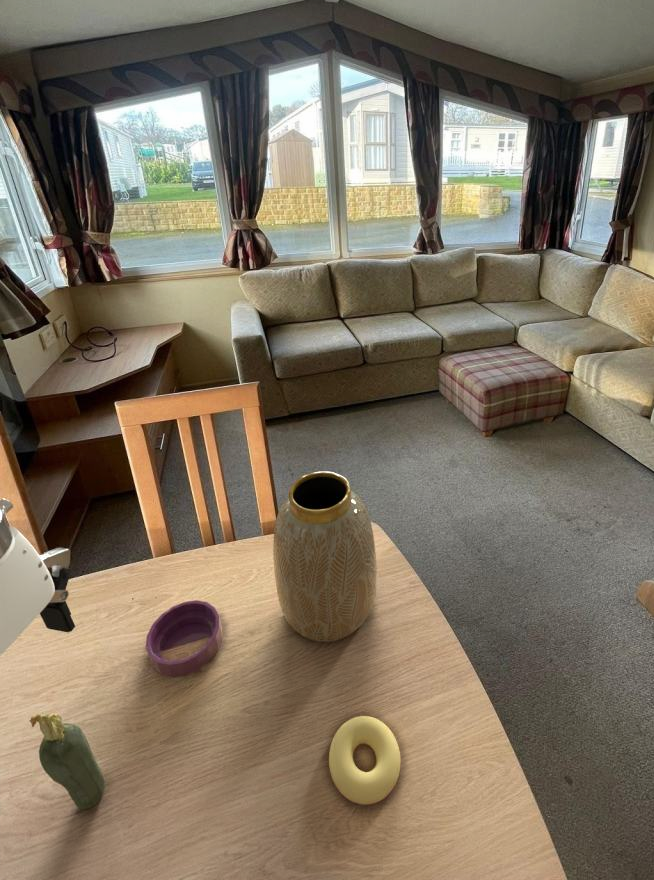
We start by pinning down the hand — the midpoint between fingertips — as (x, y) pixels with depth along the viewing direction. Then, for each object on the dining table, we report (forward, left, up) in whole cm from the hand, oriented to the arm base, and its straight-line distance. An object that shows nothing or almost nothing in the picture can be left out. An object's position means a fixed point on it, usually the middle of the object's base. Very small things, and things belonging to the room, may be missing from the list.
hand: (25, 670), depth 50 cm
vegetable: (0, 0, -28) cm, 28 cm away
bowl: (+11, +19, -28) cm, 35 cm away
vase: (+35, +18, -28) cm, 48 cm away
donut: (+34, -7, -28) cm, 44 cm away
